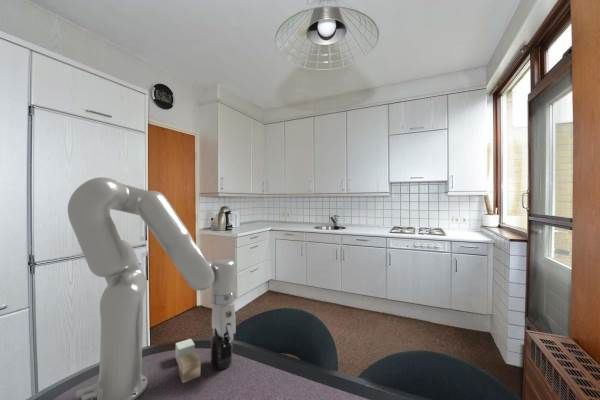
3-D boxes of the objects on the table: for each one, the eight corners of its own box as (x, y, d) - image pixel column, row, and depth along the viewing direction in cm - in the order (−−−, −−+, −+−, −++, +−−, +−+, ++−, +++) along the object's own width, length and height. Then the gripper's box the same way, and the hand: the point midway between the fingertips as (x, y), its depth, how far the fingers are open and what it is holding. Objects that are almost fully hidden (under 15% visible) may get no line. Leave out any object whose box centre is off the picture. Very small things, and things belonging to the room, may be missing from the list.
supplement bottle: (235, 358, 83) (236, 323, 84) (226, 371, 76) (227, 332, 77) (216, 356, 84) (217, 321, 85) (206, 369, 77) (207, 330, 78)
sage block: (178, 365, 80) (178, 349, 80) (175, 358, 84) (175, 343, 84) (194, 359, 83) (194, 344, 83) (190, 352, 87) (190, 338, 87)
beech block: (182, 383, 71) (183, 365, 72) (178, 374, 75) (179, 357, 75) (200, 376, 74) (200, 359, 75) (195, 368, 78) (196, 352, 79)
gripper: (245, 302, 77) (243, 361, 76) (224, 288, 90) (222, 338, 89) (221, 308, 72) (220, 370, 71) (203, 292, 86) (201, 344, 85)
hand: (221, 352), depth 80 cm, fingers closed on supplement bottle, 6 cm apart
